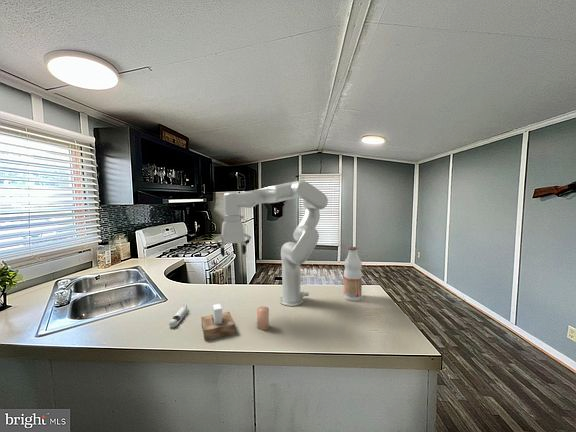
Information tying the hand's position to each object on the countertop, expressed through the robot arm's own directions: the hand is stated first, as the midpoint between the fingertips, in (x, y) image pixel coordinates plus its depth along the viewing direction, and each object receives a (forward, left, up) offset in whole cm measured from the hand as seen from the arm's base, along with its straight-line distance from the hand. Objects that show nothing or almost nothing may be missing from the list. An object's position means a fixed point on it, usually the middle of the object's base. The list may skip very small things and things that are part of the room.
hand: (233, 254), depth 121 cm
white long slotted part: (+24, -4, -29) cm, 38 cm away
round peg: (-8, +19, -28) cm, 35 cm away
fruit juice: (-62, +10, -28) cm, 69 cm away
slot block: (+10, +13, -28) cm, 33 cm away
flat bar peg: (+10, +13, -28) cm, 33 cm away
